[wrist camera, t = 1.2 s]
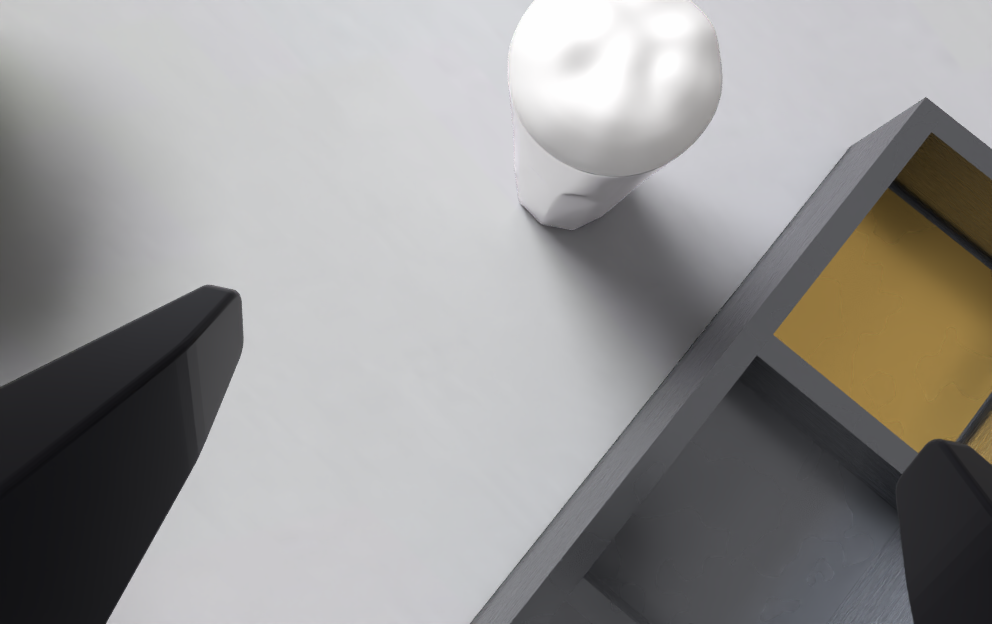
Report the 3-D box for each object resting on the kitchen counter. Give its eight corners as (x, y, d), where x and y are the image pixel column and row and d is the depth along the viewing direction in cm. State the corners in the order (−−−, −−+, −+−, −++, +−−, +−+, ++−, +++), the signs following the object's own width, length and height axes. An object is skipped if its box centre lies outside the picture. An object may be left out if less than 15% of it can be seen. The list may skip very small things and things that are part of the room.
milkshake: (619, 80, 24) (726, -142, 14) (646, 241, 23) (777, 125, 14) (481, 97, 24) (491, -118, 14) (504, 259, 23) (532, 156, 13)
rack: (594, 975, 21) (623, 1111, 17) (356, 766, 21) (330, 851, 17) (1069, 321, 24) (1189, 305, 20) (850, 146, 24) (925, 97, 20)
